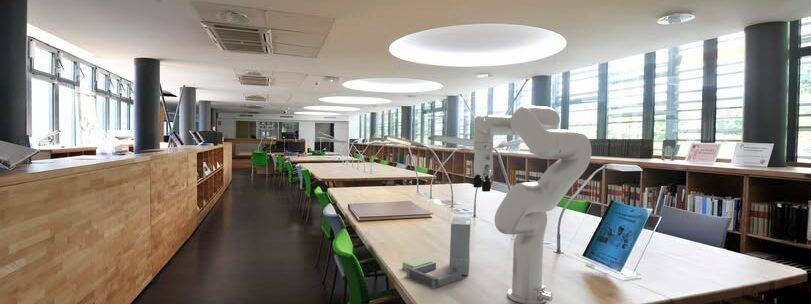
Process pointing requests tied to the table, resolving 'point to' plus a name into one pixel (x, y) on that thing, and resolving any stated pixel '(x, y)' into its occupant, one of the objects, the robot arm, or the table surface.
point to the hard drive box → (460, 245)
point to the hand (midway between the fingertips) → (481, 189)
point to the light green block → (415, 263)
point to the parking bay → (434, 282)
